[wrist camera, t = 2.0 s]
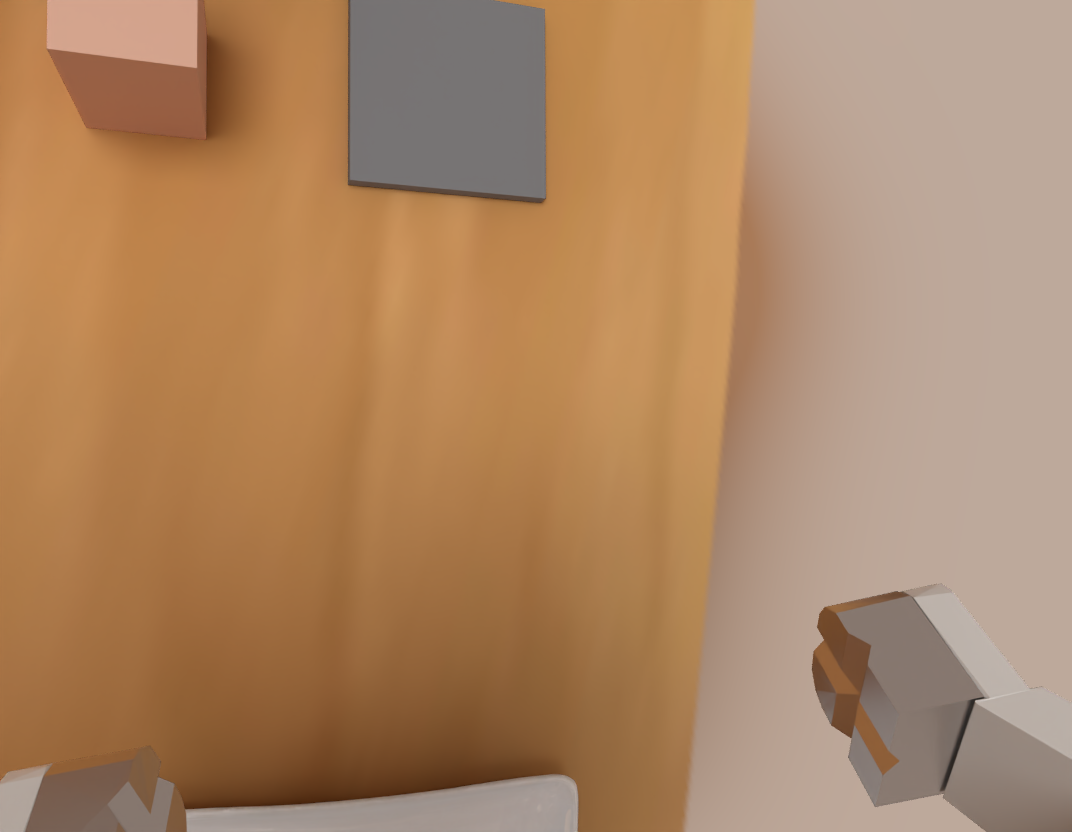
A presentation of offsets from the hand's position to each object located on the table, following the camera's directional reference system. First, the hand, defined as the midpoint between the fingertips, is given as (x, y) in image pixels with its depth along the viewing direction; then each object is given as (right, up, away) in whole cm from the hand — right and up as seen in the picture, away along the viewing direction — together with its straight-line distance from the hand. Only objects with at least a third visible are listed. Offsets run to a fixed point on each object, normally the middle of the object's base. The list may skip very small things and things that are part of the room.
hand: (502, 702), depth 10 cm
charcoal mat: (-4, +20, +33) cm, 39 cm away
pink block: (-17, +19, +28) cm, 38 cm away
